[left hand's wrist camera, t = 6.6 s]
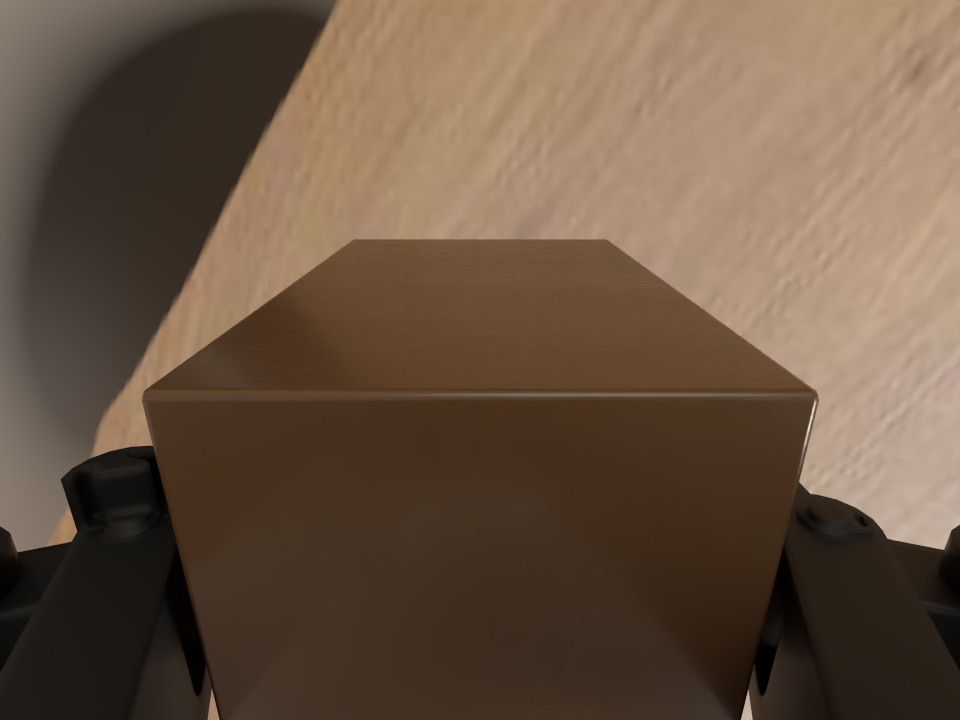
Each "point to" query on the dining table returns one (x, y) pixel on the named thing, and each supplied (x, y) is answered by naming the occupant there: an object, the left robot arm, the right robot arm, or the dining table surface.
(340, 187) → the dining table surface
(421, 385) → the box
